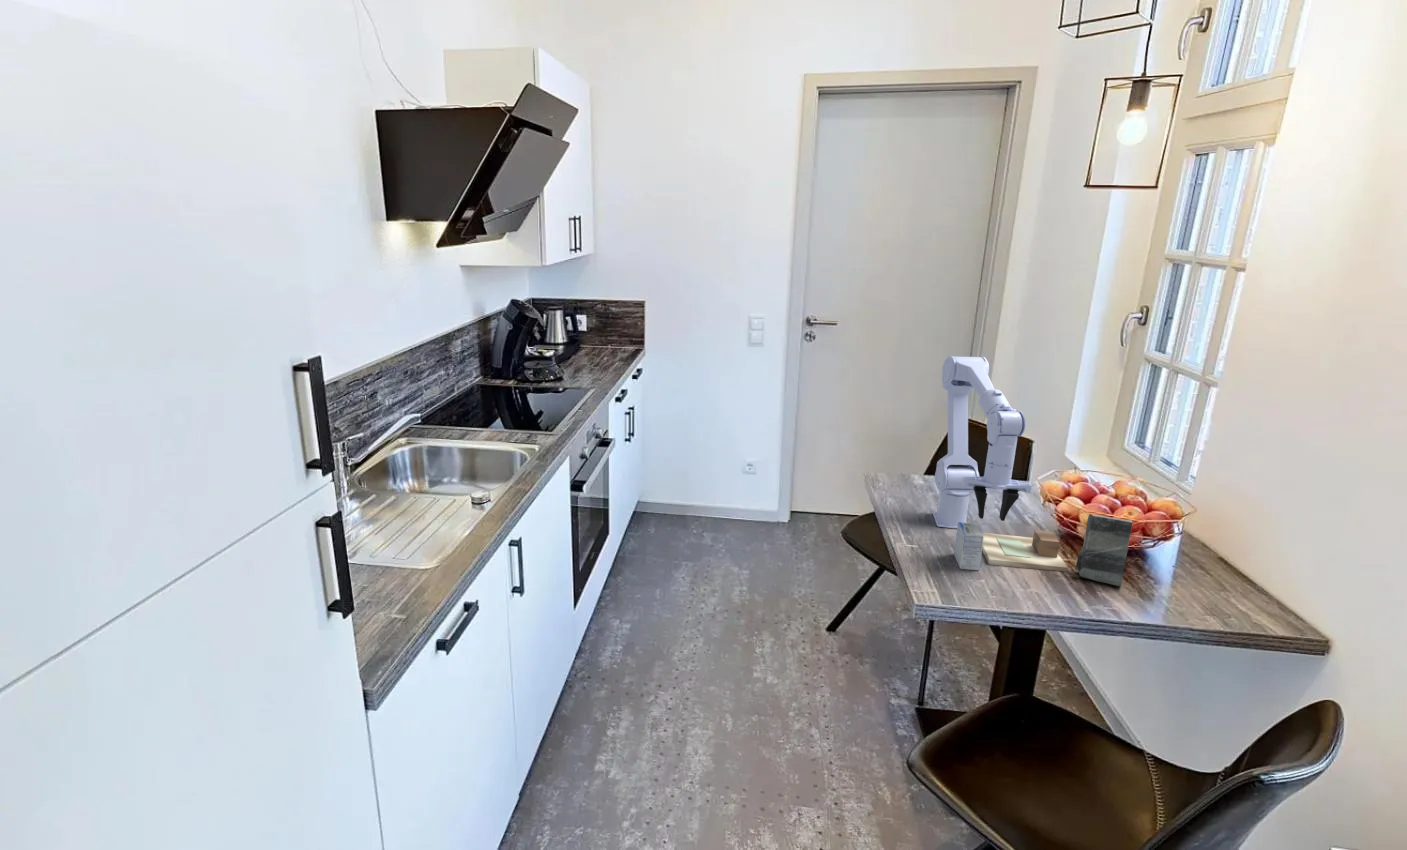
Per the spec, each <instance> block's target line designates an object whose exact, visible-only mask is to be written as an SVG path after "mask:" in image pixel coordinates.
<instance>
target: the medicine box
mask: <svg viewBox="0 0 1407 850" xmlns="http://www.w3.org/2000/svg"><path fill="white" fill-rule="evenodd" d="M982 533H983V532H982V531H981V529H980V527H979V524H978V523H975V522H967V521H966V522H958V527H957V528H956V535H955V536H956V537H955V542H954V543H955V544H954V551H953V555H954V557H955V560H956V562H957V564H958V567H959V569H960V570H968V571H980V567H981V560H982V553H983V551H982V546H983V538H984V536H983V534H982Z"/></svg>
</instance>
